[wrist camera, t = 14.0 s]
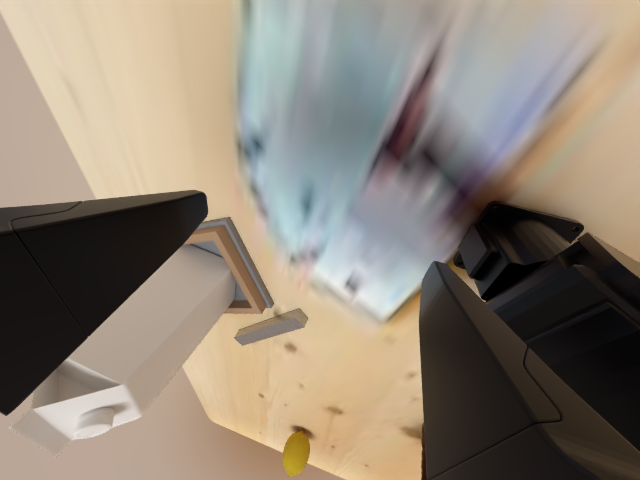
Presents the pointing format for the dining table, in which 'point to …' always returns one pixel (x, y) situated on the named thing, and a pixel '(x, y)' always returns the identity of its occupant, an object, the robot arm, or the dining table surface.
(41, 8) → the dining table surface
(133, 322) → the milk carton
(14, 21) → the dining table surface
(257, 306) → the brown and grey tray
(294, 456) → the lemon
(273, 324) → the steel rail
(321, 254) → the dining table surface
